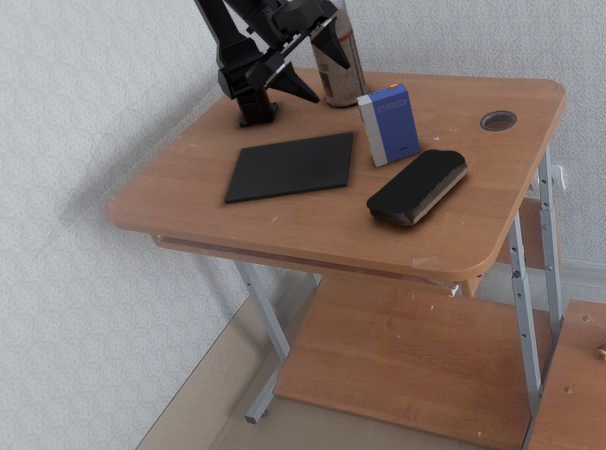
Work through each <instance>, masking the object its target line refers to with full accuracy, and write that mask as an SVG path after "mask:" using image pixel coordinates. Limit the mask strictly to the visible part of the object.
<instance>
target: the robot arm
mask: <svg viewBox="0 0 606 450" xmlns="http://www.w3.org/2000/svg"><path fill="white" fill-rule="evenodd" d="M193 2H194V4H195V6H196V8H197V9H198V12H199V13H200V15H201V17H202V19H203V22H204V23H205V24H206V27H207V29H208V31H209V32H210V34H211V36H212V38H213V40H214V42H215V44H216V52H215V63H216V66H217V67H218V69H217V83H218V86H219V87H220V89H221V91H222V92H223V94H224V95H225V96H226V97H227V98H228V99H230V100H231V101H234V100H236V103H237V105H238V108H239V110H240V113H241V117H240V119H239V122H238V126H239V127H241V128H242V127H247V126H254V125H260V124H261V125H262V124H268V123H272V122H273V121H274V119H275V116H276V112H277V109H278V106H279V104H278V102H277V101H274V102H271V100H270V97H269V94H268V92H267V91H268V89H271V90H275V91H277V92H282V93H285V94H289V95H291V96H294V97H297V98H299V99H303V100H304V101H307V102H310V103H313V104H318V103H319V102H320V101H321V99H320V97H319V96H318V95H317V93H316V92H315V91H314V89H312V88H311V87H310V86H309V85H308V84H307V83H306V81H304V80H303V79H302V78H301V77H300V76H299V75H298V74H297V73H296V71H295V68H294V65H293V62H292V61H291V60H290V61H289V62H288V63H286V64H285V59H286V58H288V56H290V54H291V53H292V52H293V51H294V50H295V49H296V48H297V47H298V46H299V45H300V44H301V43H302V42H303V41H304V40H305V39H307V38H309V37H312V36H313V37H314V39H313V40H312V41H311V42H310V41H309V43H310V45H311V44H313V45H314V46H315V47H317V48H318V49H319V50H320V51H322V52H323V53H324V54H326V55H327V56H328V57H329V58H331V59H332V60H333V61H334V62H336V63H337V64H338V65H340V66H341V67H343V68H344V69H346V70H348V69H349V68H350V67H351V65H350V63H349V61H348V59H347V57H346V54H345V52H344V50H343V48H342V46H341V44H340V42H339V40H338V37H337V34H336V20H337V16H335V17H334V18H333V19H331V17H332V16H333V15H334V14H335V13H336V12H337V11H338V8H337V7H336V6H335V5H334V4H333V3H332V2H331V1H330V0H193ZM227 6H228V7H229V8H230V9H231V10H232V11H233V12H234V13H235V14H236V15H237V16H238V17H239V18H240V19H241V20H242V21H243V22H244V23H245V24H246V25H247V27H246V29H245V31H246V32H247V33H248V34H249V35H250V36H246V35H244V34H243V33H241V31H240V30H239V29H238V27H237V24H236V23H235V21H234V19H233V17H232V15H231V13H230V12H229V10H228V8H227ZM254 33H255V34H256V35H257V36H258V37H259V38H261V40H262V41H263V42H264V43H265V44H266V45H267V46H268V48H267V49H266V52H265V53H264V52H263V51H260V49H259V46H258V45H257V43H256V41H255V39H254V38H252V37H251V35H253V34H254ZM295 36H296V37H295ZM294 37H295V38H294ZM286 44H287V45H286ZM285 45H286V46H285Z"/></svg>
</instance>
